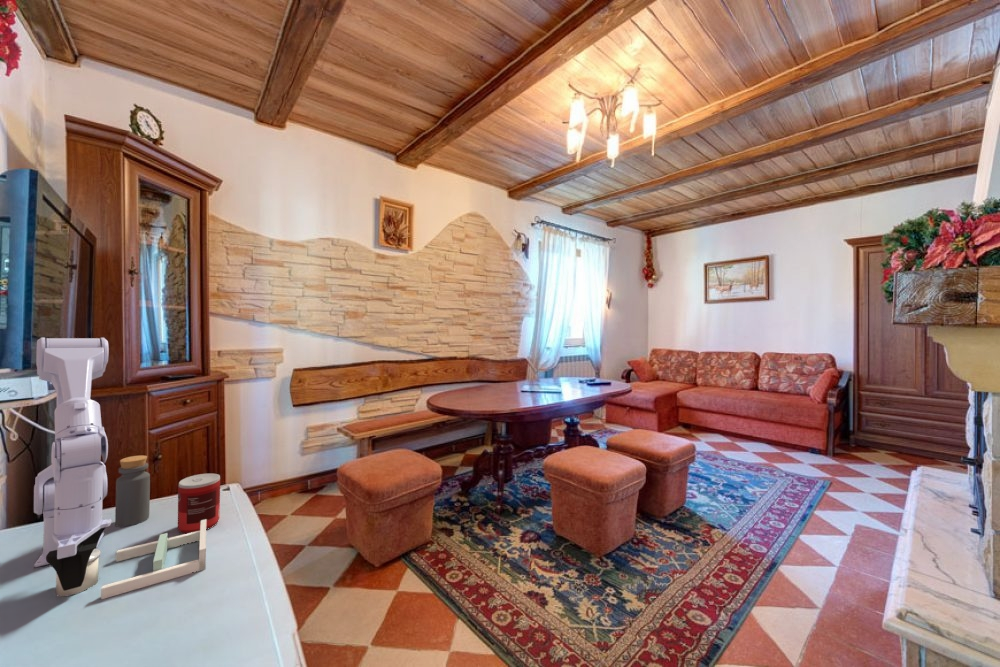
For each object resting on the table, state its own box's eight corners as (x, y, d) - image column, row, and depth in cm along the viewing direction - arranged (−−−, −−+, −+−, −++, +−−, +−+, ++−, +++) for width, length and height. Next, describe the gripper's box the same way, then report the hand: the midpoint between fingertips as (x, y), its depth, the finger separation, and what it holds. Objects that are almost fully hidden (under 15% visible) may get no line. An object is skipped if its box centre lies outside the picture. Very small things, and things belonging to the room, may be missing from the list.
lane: (117, 559, 75) (117, 539, 75) (206, 537, 83) (206, 519, 83) (100, 599, 64) (101, 576, 64) (205, 569, 72) (205, 548, 72)
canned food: (199, 516, 92) (200, 472, 92) (228, 519, 91) (228, 474, 91) (167, 532, 85) (168, 484, 85) (198, 536, 84) (199, 486, 84)
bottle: (127, 528, 86) (129, 463, 86) (108, 525, 88) (109, 461, 88) (155, 516, 92) (156, 455, 92) (137, 513, 93) (138, 453, 93)
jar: (59, 584, 67) (60, 555, 67) (102, 573, 71) (103, 545, 71) (49, 601, 63) (50, 570, 63) (95, 588, 66) (96, 559, 66)
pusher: (159, 550, 78) (159, 534, 78) (167, 548, 78) (167, 532, 78) (152, 579, 69) (153, 561, 69) (161, 576, 69) (162, 559, 69)
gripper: (102, 511, 64) (100, 592, 64) (118, 483, 75) (117, 551, 75) (38, 524, 59) (36, 610, 59) (66, 492, 71) (64, 564, 71)
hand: (77, 578), depth 67 cm, fingers closed on jar, 5 cm apart
